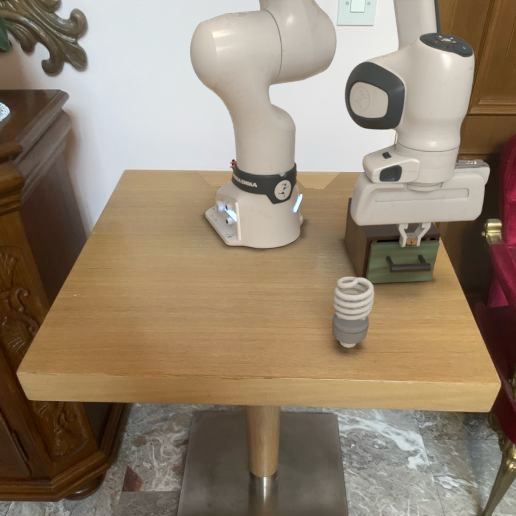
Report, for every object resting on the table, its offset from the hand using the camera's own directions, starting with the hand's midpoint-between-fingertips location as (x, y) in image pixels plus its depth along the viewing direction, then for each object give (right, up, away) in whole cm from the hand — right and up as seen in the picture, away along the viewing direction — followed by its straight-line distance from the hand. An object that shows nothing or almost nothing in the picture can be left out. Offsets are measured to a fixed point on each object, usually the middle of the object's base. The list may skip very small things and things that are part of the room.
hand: (408, 245), depth 86 cm
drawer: (-1, -2, +9) cm, 10 cm away
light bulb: (-11, -17, -6) cm, 21 cm away
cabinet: (-1, 0, +13) cm, 13 cm away
